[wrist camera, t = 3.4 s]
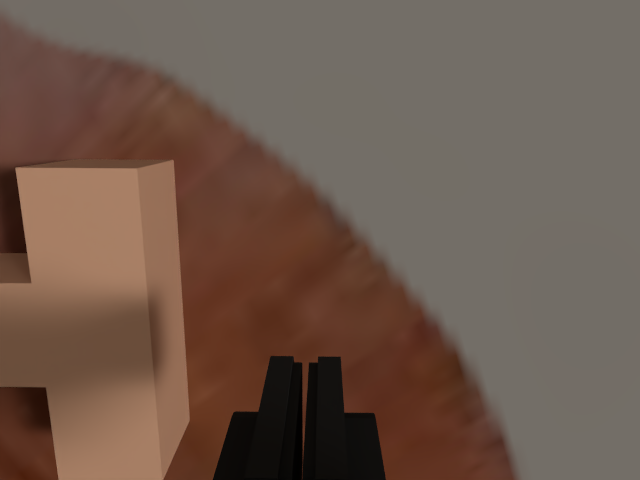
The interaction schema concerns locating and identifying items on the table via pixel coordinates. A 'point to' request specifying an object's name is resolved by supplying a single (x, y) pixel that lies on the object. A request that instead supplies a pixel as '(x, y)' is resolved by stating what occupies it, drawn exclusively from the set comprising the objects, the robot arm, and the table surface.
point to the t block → (99, 314)
